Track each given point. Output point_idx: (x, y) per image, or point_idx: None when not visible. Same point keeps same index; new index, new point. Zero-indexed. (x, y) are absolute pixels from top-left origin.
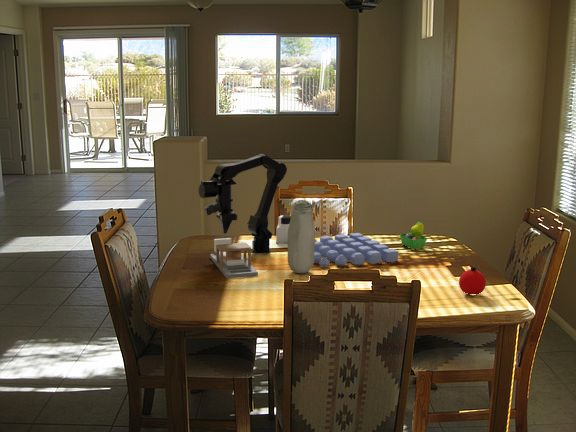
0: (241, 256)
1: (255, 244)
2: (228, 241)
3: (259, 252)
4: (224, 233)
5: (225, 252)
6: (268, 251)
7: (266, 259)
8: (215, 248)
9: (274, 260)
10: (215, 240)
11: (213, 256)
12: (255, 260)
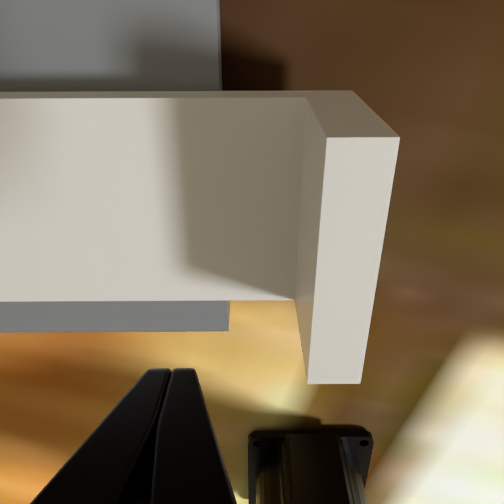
0: (56, 321)
1: (284, 497)
2: (305, 325)
3: (248, 454)
4: (153, 375)
5: (102, 198)
6: (254, 501)
7: (75, 450)
8: (305, 107)
9: (44, 481)
10: (325, 146)
11: (80, 17)
12: (51, 388)
